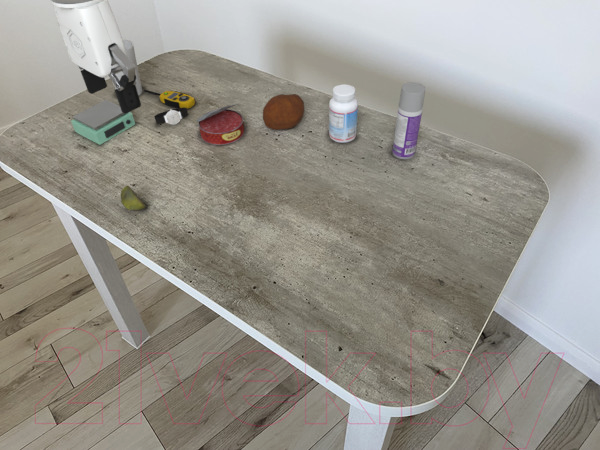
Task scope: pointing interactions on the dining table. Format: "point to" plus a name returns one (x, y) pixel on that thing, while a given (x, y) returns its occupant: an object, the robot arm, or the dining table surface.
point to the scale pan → (99, 115)
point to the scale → (105, 129)
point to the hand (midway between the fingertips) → (114, 99)
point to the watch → (171, 116)
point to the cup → (131, 56)
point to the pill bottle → (343, 114)
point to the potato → (283, 111)
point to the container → (408, 120)
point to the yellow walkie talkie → (175, 99)
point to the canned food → (221, 126)
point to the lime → (131, 199)
